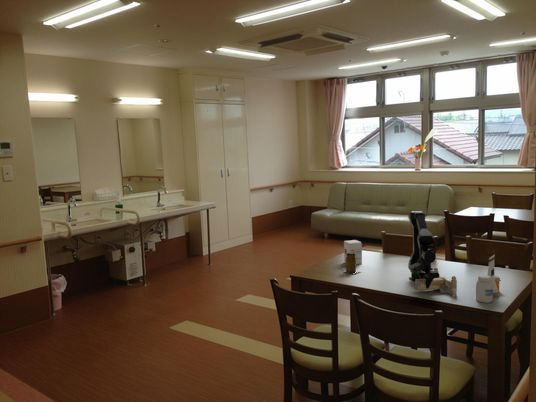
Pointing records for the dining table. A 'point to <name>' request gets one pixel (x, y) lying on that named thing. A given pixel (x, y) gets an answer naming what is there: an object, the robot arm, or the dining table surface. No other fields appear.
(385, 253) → the dining table surface
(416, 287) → the beige rectangular block
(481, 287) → the toiletry set
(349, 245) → the supplement box
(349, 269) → the condiment
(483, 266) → the dining table surface
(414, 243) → the robot arm
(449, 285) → the beige base with posts
